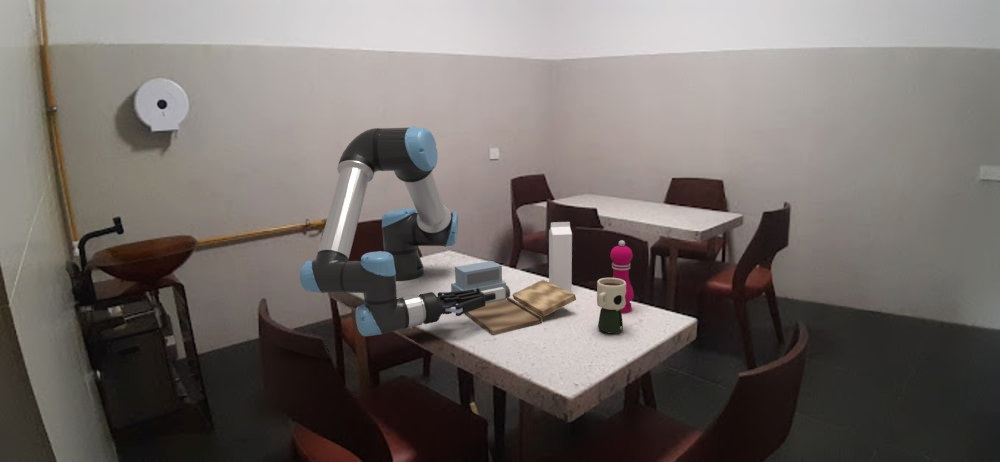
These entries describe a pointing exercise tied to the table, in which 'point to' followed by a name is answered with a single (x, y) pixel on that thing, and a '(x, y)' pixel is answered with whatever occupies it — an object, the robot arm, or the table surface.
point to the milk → (560, 255)
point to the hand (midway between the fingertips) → (503, 292)
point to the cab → (480, 278)
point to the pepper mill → (623, 270)
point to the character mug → (611, 303)
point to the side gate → (544, 297)
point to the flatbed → (504, 316)
